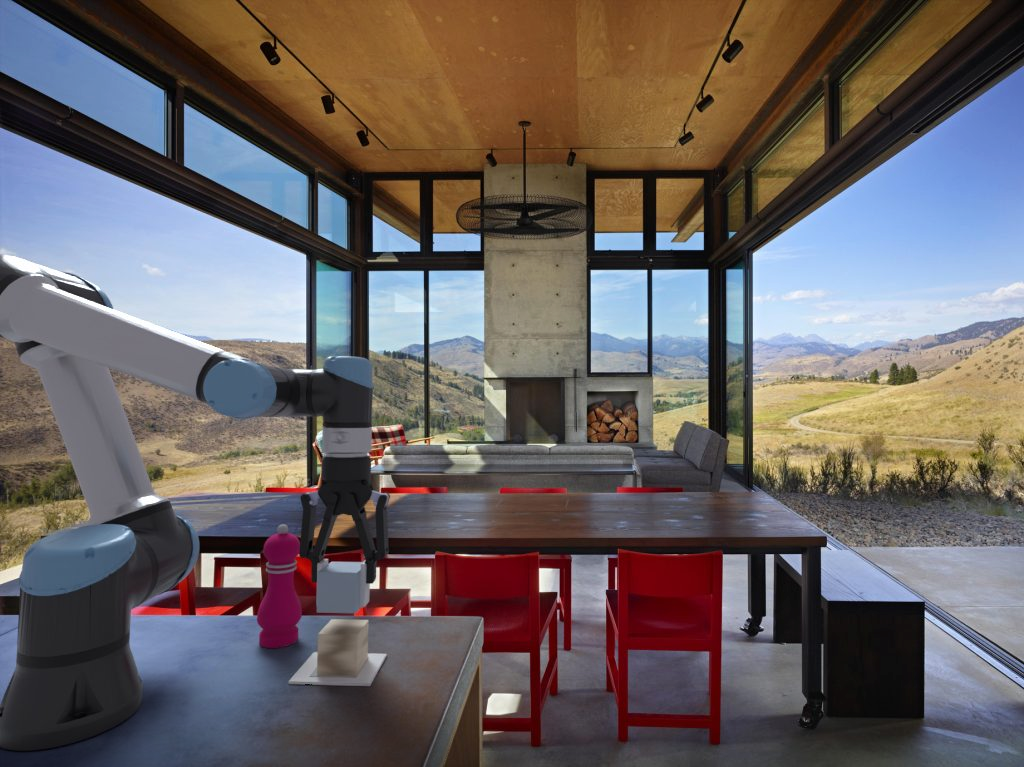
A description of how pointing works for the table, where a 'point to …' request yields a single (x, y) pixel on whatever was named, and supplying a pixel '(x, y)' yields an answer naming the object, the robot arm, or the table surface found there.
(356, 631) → the maple cube
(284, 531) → the pepper mill
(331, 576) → the slate cube
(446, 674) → the table surface
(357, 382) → the robot arm
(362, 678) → the mat
